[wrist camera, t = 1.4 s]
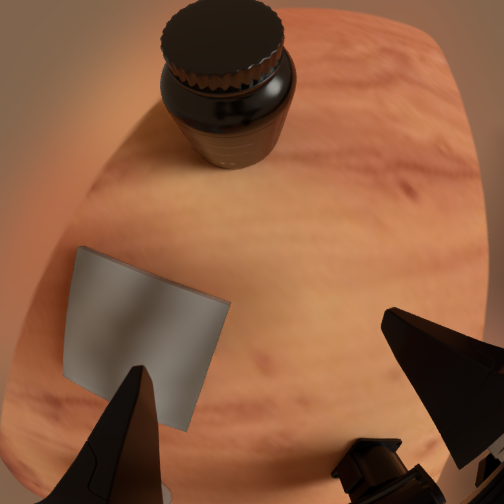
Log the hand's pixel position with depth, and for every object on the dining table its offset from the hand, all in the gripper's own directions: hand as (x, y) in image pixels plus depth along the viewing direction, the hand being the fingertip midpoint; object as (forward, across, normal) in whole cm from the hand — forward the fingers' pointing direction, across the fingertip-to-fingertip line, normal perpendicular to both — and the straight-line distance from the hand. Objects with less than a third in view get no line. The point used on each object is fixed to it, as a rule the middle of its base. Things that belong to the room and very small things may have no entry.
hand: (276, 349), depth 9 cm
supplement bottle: (+15, -2, -7) cm, 17 cm away
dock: (+11, +8, +8) cm, 16 cm away
